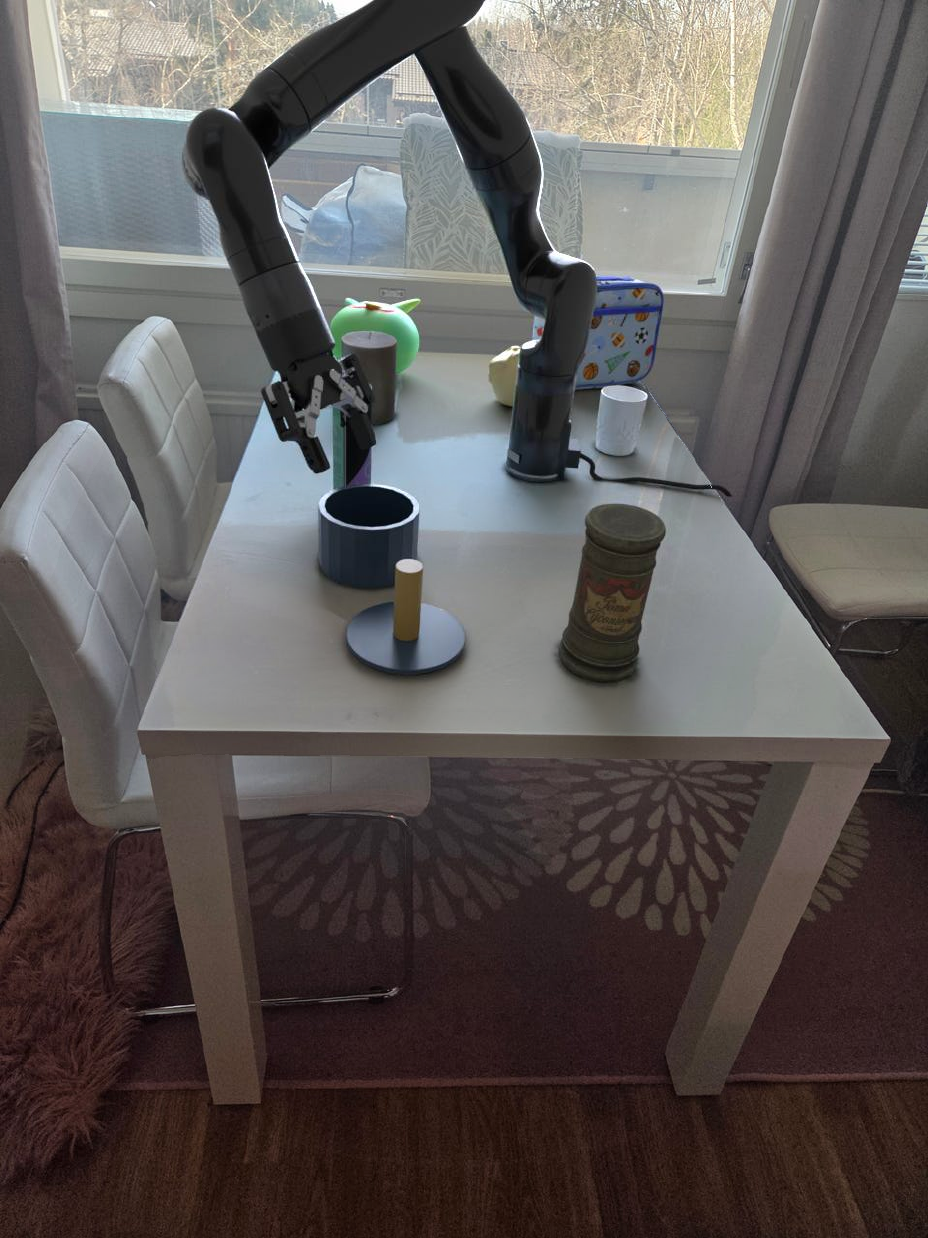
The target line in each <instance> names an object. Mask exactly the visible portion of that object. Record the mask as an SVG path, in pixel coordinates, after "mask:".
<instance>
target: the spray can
mask: <svg viewBox="0 0 928 1238" xmlns="http://www.w3.org/2000/svg"><path fill="white" fill-rule="evenodd" d="M369 385H370V387H371V390H372V386H371V384H369ZM357 389H358V391H359V393H360V396H363V393H362V391H361V389H360V387H359V386H357ZM372 404H373V403H372ZM372 404H370V406H369V407H368V411H367V415H368V418H369V420H370V423H371V425H372V426H373V424H372ZM350 405H351V404H350ZM331 407H332V406H331ZM351 419H352V418H350V417H348V416H347V415H346V414H345V413H344V412H342V411H341V410H340V409H339V408H334V407H332V486H333V487H332V488H333V489H332V490H334V489H336V488H339V487H343V486H348V485H355V484H372V463H373V462H372V461H373V460H372V459H373V458H372V457H373V456H372V454H373V453H372V452H373V447H371V448H367V449H364V450H362V449H361V448H360V447H359V444H358V442H357V440H356V437H355V435H354V432H353V430H352V428H351V425H350V423H349V420H351Z"/></svg>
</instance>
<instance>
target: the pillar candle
mask: <svg viewBox="0 0 928 1238" xmlns="http://www.w3.org/2000/svg"><path fill="white" fill-rule="evenodd" d="M341 344H342V357H344V356H346V355H350V354H352V353H353V354H355V355H356V356H357V358H358V361H359V363H360V365H361V367H362V369H363V372H364V374H365V376H366V378H367V381H368V383H369V384H371V386H372V392H373V394H374V396H375V402H374V403H373V404H372V425H382V424H387V423H390V422H391V421H393V420H395V418H396V408H395V407H396V389H397V386H396V385H397V381H396V380H397V374H396V361H397V340H396V338H394V337H393V336H391V335H389V334H385V333H380V332H374V331H359V332H351V333H347V334H345V335H344V336H342V338H341Z"/></svg>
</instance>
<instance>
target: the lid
mask: <svg viewBox="0 0 928 1238" xmlns="http://www.w3.org/2000/svg"><path fill="white" fill-rule="evenodd" d="M423 579H424V565H423V563H421V561H419V560H418V559H417V560H413V559H404V560H401V561H399V562H397V563H396V568H395V585H394V596H393V598H394V599H393V601H386V602H383V603H382V602H381V603H378V604H375V605H372V606H369V607H367V608H365V609H363V610H361V611H360V612H358V613H356V615H354V616H353V617H352V619H351V620H350V621H349V623H348V625H347V627H346V632H345V640H346V644H347V648H348V649H349V651H350V652H351V653H352V654H353V656H354V657H355V658H356V659H358V660H359V661H360V662H361V663H363V664H365V665H367V666H369V667H371V668H373V669H376V670H379V671H382V672H386V673H391V674H398V675H420V674H426V673H430V672H435V671H438V670H441V669H443V668H445V667H447V666H449V665H451V664H452V663H453V662H455V661H456V660H457V659H458V658H459V657H460V656H461V654H462V652H463V651H464V648H465V645H466V633H465V629H464V627H463V625H462V624H461V622H460V621H459V620H458V619H457V618H456V617H455V616H453V615H452V614H451V613H449V612H448V611H446V610H444V609H442V608H440V607H438V606H435V605H431V604H428V603H425V602H422V597H423V581H424V580H423Z"/></svg>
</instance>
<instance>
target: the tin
mask: <svg viewBox="0 0 928 1238" xmlns="http://www.w3.org/2000/svg"><path fill="white" fill-rule="evenodd" d="M420 509H421V507H420V504H419V502H418V500H417V499H416V498H415V497H414V496H413V495H411V494H410V493H409V492H407V491H404V490H402V489H399V488H397V487H394V486H389V485H386V484H385V485H384V484H375V483H371V484H355V485H348V486H343V487H339V488H336V489H334V490H333V489H332V490H330V491H327V492H326V493H325V494H323V496H321V498H320V499H319V501H318V504H317V523H318V526H317V528H318V530H317V531H318V562H319V567H320V570H321V571H322V573H323V574H324V575H325V576H326V577H327V578H329V579H330V580H332V581H333V582H335V583H337V584H339V585H343V586H346V587H350V588H355V589H362V590H378V589H385V588H390V587H395V568H396V563H397V562H399V561H401V560H404V559H413V560H417V561H418V549H419V548H418V546H419V529H420V511H421V510H420Z"/></svg>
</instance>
